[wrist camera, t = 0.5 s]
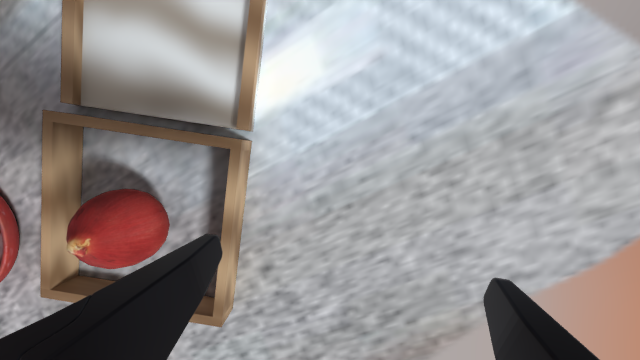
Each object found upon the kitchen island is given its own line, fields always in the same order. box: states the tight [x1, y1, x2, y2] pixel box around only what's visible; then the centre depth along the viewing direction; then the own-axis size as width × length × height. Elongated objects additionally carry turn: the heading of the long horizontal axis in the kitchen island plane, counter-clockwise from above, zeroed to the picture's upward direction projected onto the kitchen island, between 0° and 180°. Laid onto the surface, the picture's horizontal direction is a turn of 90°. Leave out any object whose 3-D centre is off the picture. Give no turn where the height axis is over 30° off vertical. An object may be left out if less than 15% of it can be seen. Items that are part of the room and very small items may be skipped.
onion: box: [66, 189, 170, 269], centre depth 19 cm, size 6×6×8 cm
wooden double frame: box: [41, 0, 268, 327], centre depth 21 cm, size 32×16×2 cm, turn 171°
